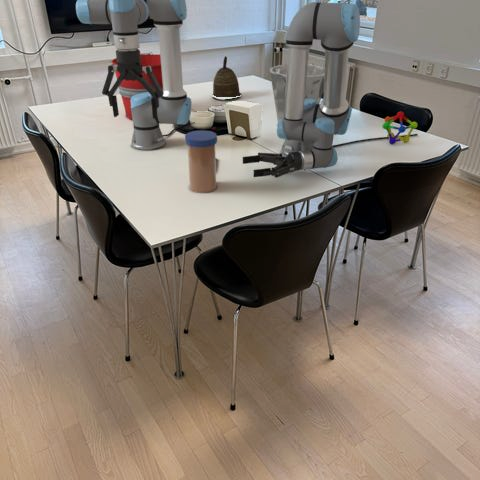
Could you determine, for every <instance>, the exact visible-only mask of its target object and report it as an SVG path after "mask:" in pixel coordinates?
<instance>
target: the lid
mask: <svg viewBox="0 0 480 480" xmlns="http://www.w3.org/2000/svg"><path fill="white" fill-rule="evenodd" d="M184 140H185V141H184V142H185V144H186V145H189V146H192V147H209V146H212V145H215V146H216V144H217V143H218V135H217V133H216V132H214V131H211V130H205V129H204V130H202V129H201V130H192V131H189V132H187V133H186V134H184Z"/></svg>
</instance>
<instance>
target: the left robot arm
mask: <svg viewBox="0 0 480 480" xmlns="http://www.w3.org/2000/svg"><path fill="white" fill-rule="evenodd" d="M187 11H188V9H187V3H186V0H76V3H75V13H76V17H77V19H78V20H79V21H80V23H82V24H87V25H88V24H89V25H111V26H112V35H113V42H114V48H115V59H116V58H117V66H114V65H113V63H110V64H111V65H109V64H108V66H107V75H106V78H105V81H104V85H103V87H102V90H101V94H102V95H105V96H107V97H108V104H109V107H111V108H112V114H113V117H114V118H117V117H118V116H119V115H120V111H119V106H118V105H119V104H118V97H117V95H116V94H115V93H116V92H117V90H119V86H120V84H121V83H122V81H123V80H124V79H125V80H126V81H129V80H132V81H136V80H137V81H138V82H140V83H141V84H142V85H143V87H144V88H145V89H146V90H147V91H148V92H145V93H140V94H136V95H134V96H133V97H132V98H131V111H132V118H133V120H132V125H133V132H132V135H131V142H130V143H131V147H132V148H134V149H135V150H141V151H151V150H153V151H154V150H157V149H161V148H163V147H164V146H165V144H166V140H165V137H169V136H171V135H172V133H173V132H174V131H176V130H178V129H181V128H182V127H183V128H184V127H185V126H187V125H189V124H191V123H190V122H191V121H189V120H190V118H191V113H192V99H191V97H189V96H188V93H187V91H185V89H184V84H183V67H182V51H181V50H182V49H181V34H180V33H181V31H180V29H181V28H182V26H183V25H184V23H183V21H184V20H186V19H187V15H188V13H187ZM147 20H153V25H154V27H155V28H156V29H157V32H158V44H159V55H160V57H161V69H162V81H163V90H162V89H161V87H160V85H159V83H158V81H157V80H156V78H155V76H154V74H153V72H152V67H151V66H150V65H149V66H147V67H142V64H141V55H140V54H141V50H140V38H139V29H138V25H142V24H143V23H144V22H146V21H147ZM116 70H117V71H118V72H119V74H120V76H119V77H118V79H117V78H116V80H115V82H114V84H113V85H112V82H113V79H114V76H115V72H116ZM143 71H144V72H145V73H146V74H147V76H148V78H149V80H150V81H151V83H152V85H153V87H154V89H155V90H156V91H155V90H154V89H153V87H152V86H151V85H150V84H149V83H148V82H147V80H146V79H145V77H144V76H143V75H142V72H143ZM111 85H112V87H111ZM110 87H111V88H110ZM160 124H161V125H163V124H165V125H177V127H175V128H173V129H172V130H171V131H170V132H168V133H167V134H163V132H162V130H161V127H160Z"/></svg>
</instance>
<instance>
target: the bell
mask: <svg viewBox="0 0 480 480" xmlns="http://www.w3.org/2000/svg"><path fill="white" fill-rule="evenodd" d="M227 63H228V57H227V56H224V58H223V63H222V67H221V68H219V69H218V70H217V71H216V73H215V75H214V78H213V81H212V83H213V84H212V95H214V96H216V97H236V96H240V95H241V96H242V93H241V92H240V83H239V80H238V79H239V78H238V77H237V75H236V73H235V72H234V70H232V69H231V68H230V67H227Z"/></svg>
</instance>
